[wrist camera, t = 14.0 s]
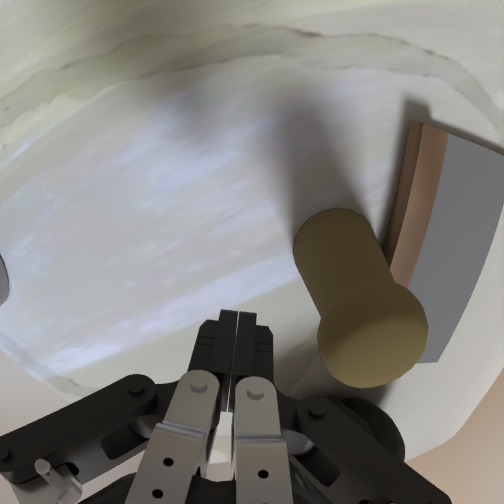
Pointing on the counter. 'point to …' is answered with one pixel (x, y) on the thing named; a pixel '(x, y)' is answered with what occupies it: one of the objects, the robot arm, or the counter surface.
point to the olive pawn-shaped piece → (358, 301)
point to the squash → (368, 420)
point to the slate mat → (457, 238)
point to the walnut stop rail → (414, 199)
